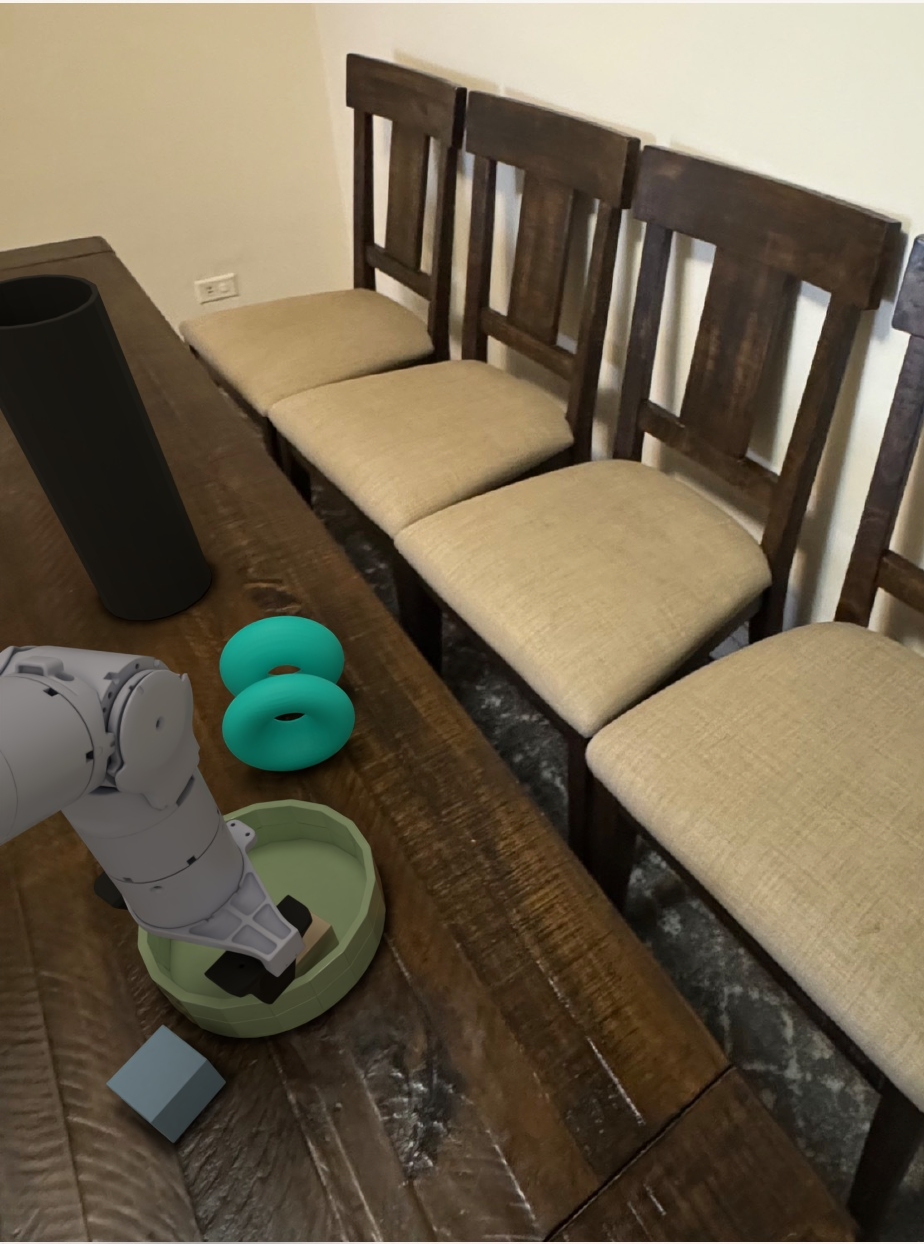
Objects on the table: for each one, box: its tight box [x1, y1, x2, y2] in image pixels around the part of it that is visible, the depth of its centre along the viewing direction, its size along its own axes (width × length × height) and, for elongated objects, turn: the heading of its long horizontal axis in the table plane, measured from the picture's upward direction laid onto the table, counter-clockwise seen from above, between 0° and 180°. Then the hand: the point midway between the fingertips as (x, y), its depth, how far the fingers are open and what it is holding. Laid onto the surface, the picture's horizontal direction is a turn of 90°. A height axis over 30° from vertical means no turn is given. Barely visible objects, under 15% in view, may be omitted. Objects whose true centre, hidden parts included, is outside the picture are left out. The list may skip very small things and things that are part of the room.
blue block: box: [105, 1024, 227, 1144], centre depth 52 cm, size 4×4×4 cm
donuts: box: [219, 615, 356, 772], centre depth 71 cm, size 10×10×10 cm
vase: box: [0, 273, 213, 621], centre depth 77 cm, size 10×10×30 cm
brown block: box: [294, 910, 339, 980], centre depth 58 cm, size 4×4×4 cm
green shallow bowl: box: [137, 798, 387, 1039], centre depth 60 cm, size 15×15×5 cm
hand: (234, 955), depth 53 cm, fingers open, 7 cm apart
